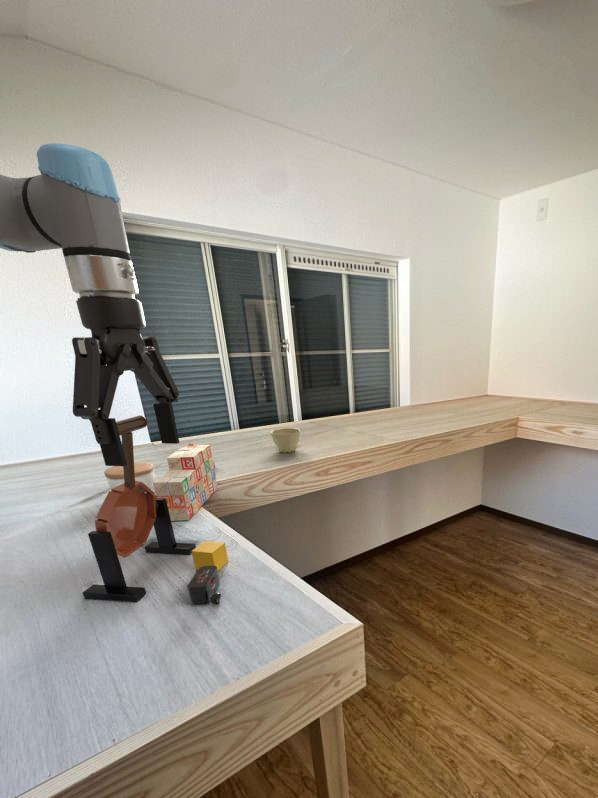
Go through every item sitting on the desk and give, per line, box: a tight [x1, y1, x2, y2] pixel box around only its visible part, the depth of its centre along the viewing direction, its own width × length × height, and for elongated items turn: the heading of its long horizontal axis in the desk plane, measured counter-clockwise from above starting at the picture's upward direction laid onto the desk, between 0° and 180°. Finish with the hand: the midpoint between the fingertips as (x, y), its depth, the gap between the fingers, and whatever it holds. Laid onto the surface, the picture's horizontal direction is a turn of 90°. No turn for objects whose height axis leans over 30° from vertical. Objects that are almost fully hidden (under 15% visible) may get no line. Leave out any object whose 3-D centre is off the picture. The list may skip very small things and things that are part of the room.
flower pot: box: [270, 427, 301, 453], centre depth 147 cm, size 10×10×7 cm
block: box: [191, 540, 229, 572], centre depth 74 cm, size 4×4×4 cm
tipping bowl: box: [94, 414, 159, 559], centre depth 67 cm, size 23×13×2 cm
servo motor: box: [187, 566, 222, 606], centre depth 66 cm, size 5×7×3 cm, turn 3°
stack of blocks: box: [153, 444, 218, 522], centre depth 100 cm, size 21×6×12 cm, turn 4°
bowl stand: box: [81, 498, 197, 603], centre depth 71 cm, size 9×18×11 cm, turn 173°
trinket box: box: [103, 461, 156, 492], centre depth 105 cm, size 11×11×9 cm
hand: (146, 453), depth 64 cm, fingers open, 12 cm apart
